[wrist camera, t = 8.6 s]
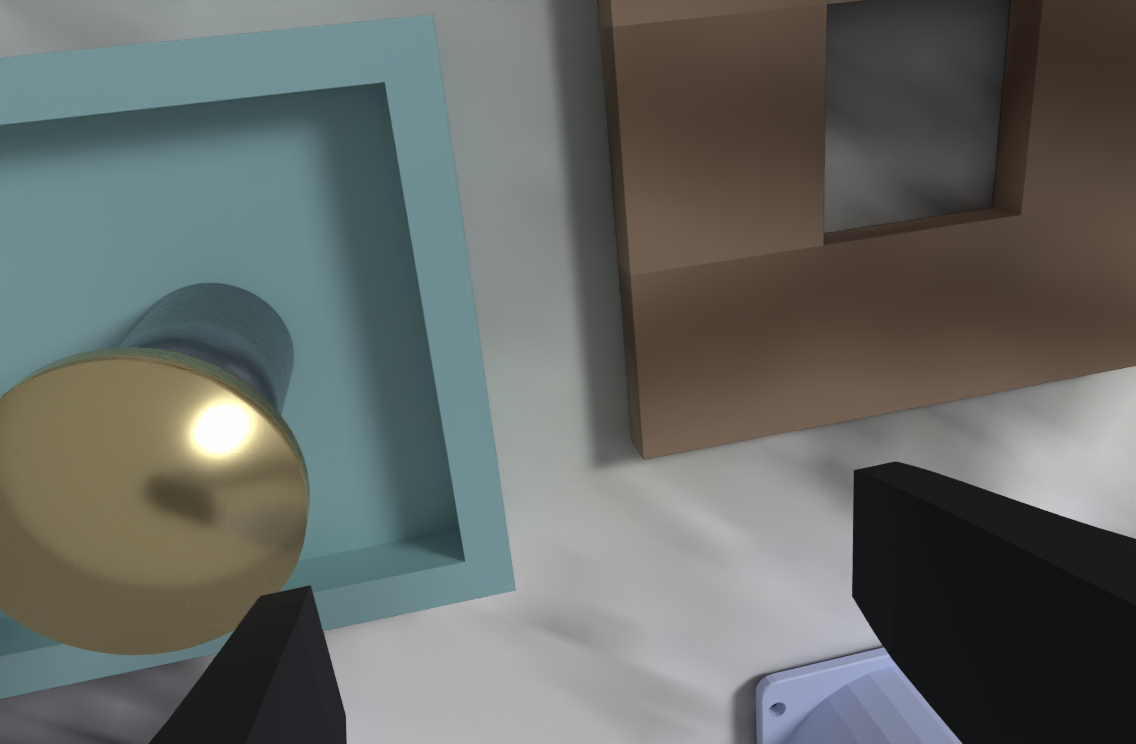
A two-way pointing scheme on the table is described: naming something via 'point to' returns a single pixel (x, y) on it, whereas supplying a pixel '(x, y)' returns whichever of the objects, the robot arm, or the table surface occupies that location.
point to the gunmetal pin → (154, 479)
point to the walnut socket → (863, 255)
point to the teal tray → (271, 284)
